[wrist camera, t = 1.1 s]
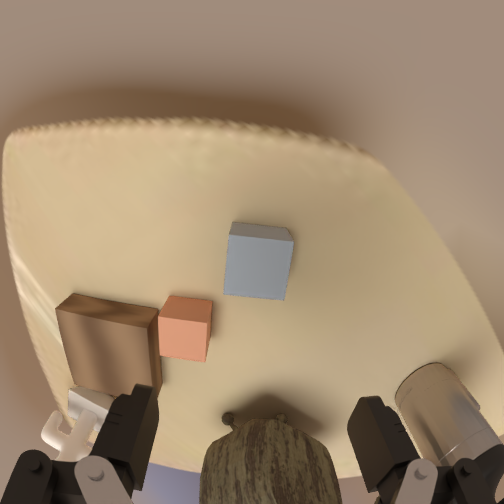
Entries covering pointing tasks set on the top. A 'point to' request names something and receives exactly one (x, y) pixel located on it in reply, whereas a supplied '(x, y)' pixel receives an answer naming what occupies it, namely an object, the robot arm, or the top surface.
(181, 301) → the terracotta block
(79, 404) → the figurine
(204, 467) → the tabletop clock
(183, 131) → the top surface
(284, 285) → the blue block
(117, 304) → the plinth
